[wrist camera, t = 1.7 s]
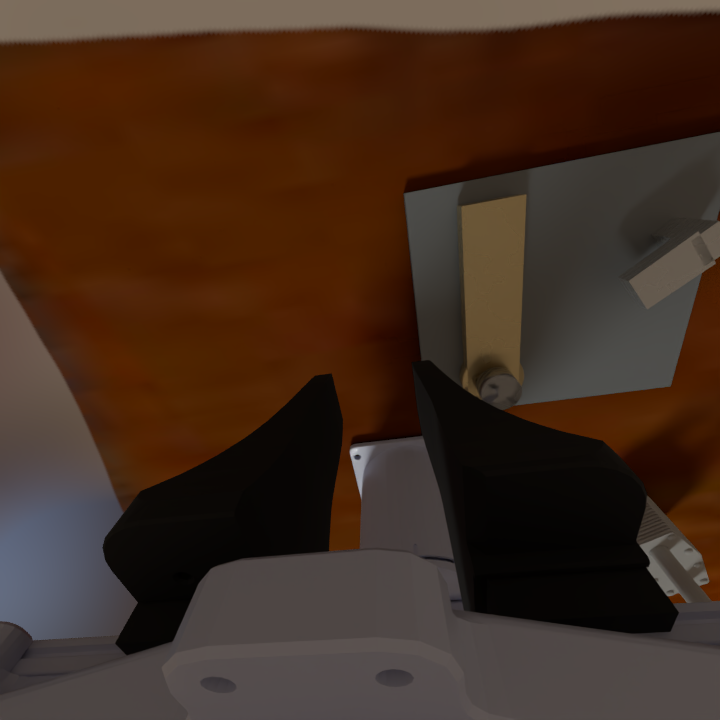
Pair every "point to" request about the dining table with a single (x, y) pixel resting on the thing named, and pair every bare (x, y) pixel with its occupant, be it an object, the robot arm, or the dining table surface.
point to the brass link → (491, 286)
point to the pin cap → (499, 388)
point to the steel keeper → (673, 259)
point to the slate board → (573, 266)
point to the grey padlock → (671, 556)
